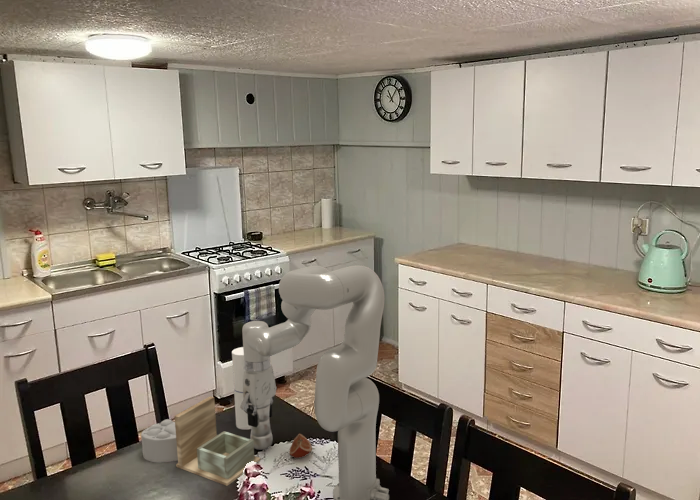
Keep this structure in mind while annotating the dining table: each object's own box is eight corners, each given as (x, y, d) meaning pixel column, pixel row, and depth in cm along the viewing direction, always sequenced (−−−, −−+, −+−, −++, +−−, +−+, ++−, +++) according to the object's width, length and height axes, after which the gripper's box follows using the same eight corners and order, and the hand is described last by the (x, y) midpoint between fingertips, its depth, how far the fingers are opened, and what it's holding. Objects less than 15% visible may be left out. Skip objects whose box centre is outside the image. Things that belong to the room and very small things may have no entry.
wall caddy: (260, 460, 164) (258, 409, 161) (227, 486, 153) (223, 431, 150) (211, 444, 174) (207, 395, 171) (176, 466, 162) (172, 415, 159)
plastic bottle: (268, 453, 168) (265, 389, 164) (247, 451, 169) (243, 388, 166) (276, 442, 174) (273, 380, 170) (255, 440, 175) (251, 379, 172)
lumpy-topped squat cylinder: (186, 460, 166) (184, 432, 164) (139, 464, 164) (137, 436, 162) (190, 441, 176) (188, 415, 174) (146, 446, 174) (143, 419, 172)
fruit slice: (290, 448, 171) (289, 432, 170) (312, 447, 171) (312, 431, 170) (288, 463, 163) (288, 447, 162) (312, 462, 163) (311, 446, 162)
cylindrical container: (233, 421, 188) (229, 349, 183) (255, 416, 191) (251, 345, 186) (239, 431, 181) (234, 356, 176) (261, 426, 184) (257, 352, 179)
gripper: (248, 376, 158) (251, 437, 161) (285, 356, 172) (287, 411, 176) (227, 371, 161) (231, 430, 165) (265, 352, 176) (268, 406, 179)
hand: (260, 420), depth 170 cm, fingers closed on plastic bottle, 6 cm apart
